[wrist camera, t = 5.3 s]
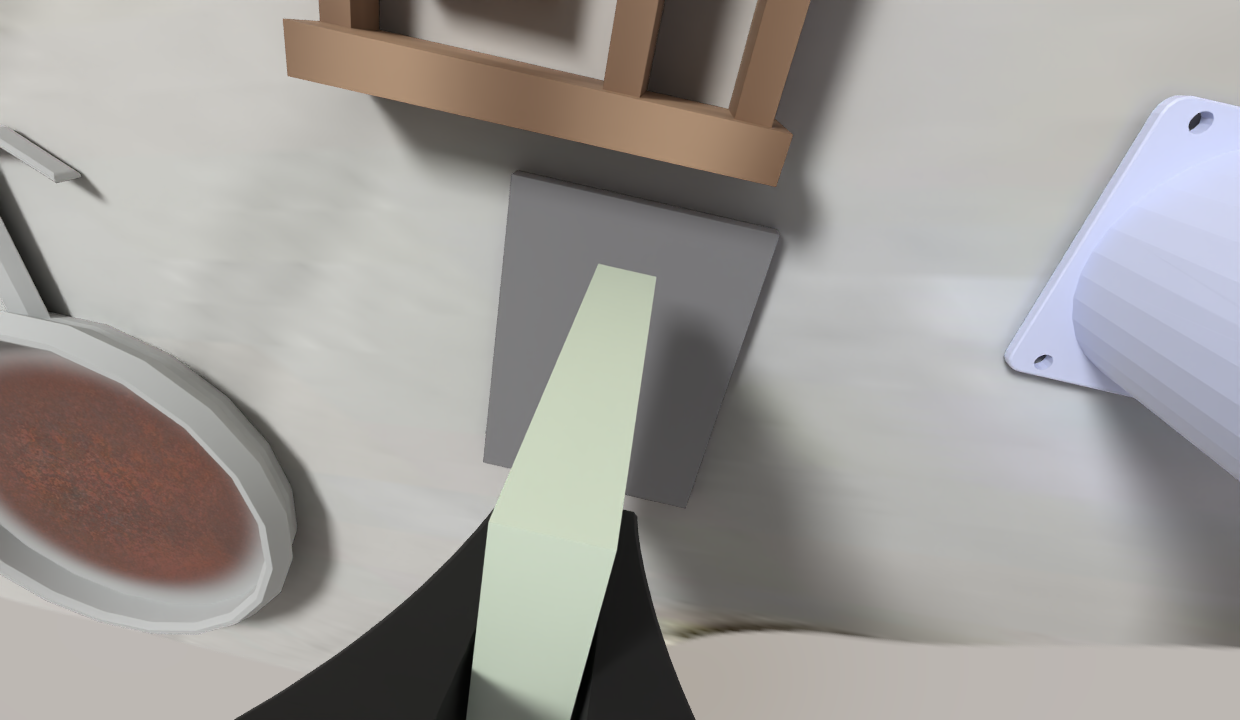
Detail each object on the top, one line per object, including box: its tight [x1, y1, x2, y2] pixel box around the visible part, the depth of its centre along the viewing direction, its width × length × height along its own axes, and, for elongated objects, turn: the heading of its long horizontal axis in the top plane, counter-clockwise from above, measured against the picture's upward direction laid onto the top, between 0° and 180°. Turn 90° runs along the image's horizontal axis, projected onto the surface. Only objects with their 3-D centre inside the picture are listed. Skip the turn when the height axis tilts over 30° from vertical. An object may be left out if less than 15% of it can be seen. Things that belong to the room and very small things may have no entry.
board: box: [466, 264, 656, 720], centre depth 13 cm, size 2×9×9 cm, turn 169°
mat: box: [483, 170, 780, 508], centre depth 20 cm, size 8×11×1 cm
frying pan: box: [0, 125, 297, 634], centre depth 22 cm, size 17×3×28 cm
